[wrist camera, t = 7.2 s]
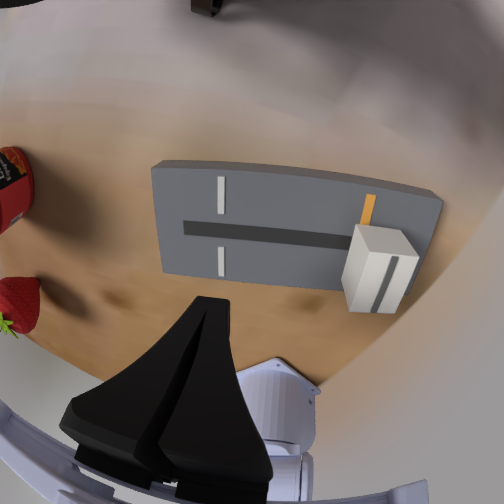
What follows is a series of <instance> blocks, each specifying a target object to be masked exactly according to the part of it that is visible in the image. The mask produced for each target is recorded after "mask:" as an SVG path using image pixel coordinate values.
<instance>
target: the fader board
mask: <svg viewBox="0 0 504 504" xmlns="http://www.w3.org/2000/svg"><path fill="white" fill-rule="evenodd" d="M151 174H152V187H153V198H154V207H155V216H156V225H157V233H158V240H159V248H160V255H161V261H162V268H163V273H168V274H176V275H184V276H193V277H201V278H210V279H219V280H228V281H237V282H247V283H257V284H267V285H277V286H288V287H300V288H311V289H324V290H337V291H344V289H343V285H342V281H341V278H342V274H343V271H344V267H345V264H346V260H347V256H348V253H349V249H350V245H351V241H352V237H353V233H354V229H355V225H356V224H361V225H369V226H376V227H383V228H390V229H397V230H401V232H402V233H403V234H404V236H405V237H406V238H407V240H408V241H409V243H410V244H411V246H412V247H413V248H414V250H415V251H416V253H417V254H418V256H419V259H418V262H417V264H416V267H415V269H414V272H413V274H412V276H411V279H410V281H409V283H408V286H407V288H406V290H405V292H404V295H408V294H409V291H410V289H411V287H412V285H413V283H414V280H415V278H416V276H417V273H418V271H419V269H420V266H421V264H422V261H423V259H424V256H425V254H426V251H427V249H428V246H429V243H430V240H431V238H432V235H433V232H434V229H435V226H436V223H437V220H438V217H439V214H440V211H441V208H442V204H443V200H442V199H440V198H439V197H438V196H437V195H436V194H434V193H433V192H432V191H431V190H426V189H422V188H418V187H413V186H409V185H404V184H399V183H394V182H389V181H384V180H379V179H373V178H368V177H362V176H356V175H350V174H343V173H337V172H330V171H322V170H315V169H306V168H298V167H288V166H278V165H267V164H255V163H240V162H221V161H190V160H163V161H161V162H160V163H158V164H157V165H155V166H154V167H152V168H151Z"/></svg>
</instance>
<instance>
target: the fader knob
mask: <svg viewBox="0 0 504 504" xmlns="http://www.w3.org/2000/svg"><path fill="white" fill-rule="evenodd" d="M418 259H419V256H418V254H417V253H416V251H415V250H414V248H413V247H412V246H411V244H410V243H409V241H408V240H407V238H406V237H405V236H404V234H403V233H402V232H401V230H397V229H390V228H383V227H376V226H369V225H361V224H356V225H355V229H354V233H353V237H352V241H351V245H350V249H349V253H348V256H347V260H346V264H345V267H344V271H343V274H342V278H341V281H342V285H343V289H344V293H345V297H346V301H347V306H348V310H349V312H367V313H395V311H396V309H397V307H398V305H399V303H400V301H401V299H402V297H403V295H404V292H405V290H406V288H407V286H408V283H409V281H410V279H411V276H412V274H413V272H414V269H415V267H416V264H417V262H418Z"/></svg>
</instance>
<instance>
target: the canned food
mask: <svg viewBox="0 0 504 504" xmlns="http://www.w3.org/2000/svg"><path fill="white" fill-rule="evenodd" d="M33 196H34V183H33V176H32V172H31V168H30V166H29V163H28V161H27V159H26V157H25V156H24V154H23V153H22V152H21V151H20V150H19V149H18V148H15V147H3V148H1V149H0V234H2V233H3V232H4V231H5V230H7V229H8V228H9V227H10V226H12V225H13V224H14V223H15V222H17V221H18V220H19V219H21V218H22V217H23V216H24V215H25V214H26V213H27V211H28V210H29V208H30V207H31V204H32V201H33Z"/></svg>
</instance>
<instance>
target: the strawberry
mask: <svg viewBox="0 0 504 504" xmlns="http://www.w3.org/2000/svg"><path fill="white" fill-rule="evenodd" d="M39 288H40V284H39V281H38V280H37V279H36V278H34V277H6V278H3V279H1V280H0V326H1V330H3V331H4V333H5V334H7V331H8V332H10V333H11V334H12V335H13V336H15V337H16V338H18V337H17V336H16V334H15V333H14V332H13V331H12V330H14V331H15V332H17V333H20V334H27V333H29V332H30V331H31V330H33V329H34V328H35V326H36V323H37V320H38V317H39V311H40V292H39ZM11 329H12V330H11ZM1 330H0V332H1Z"/></svg>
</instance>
